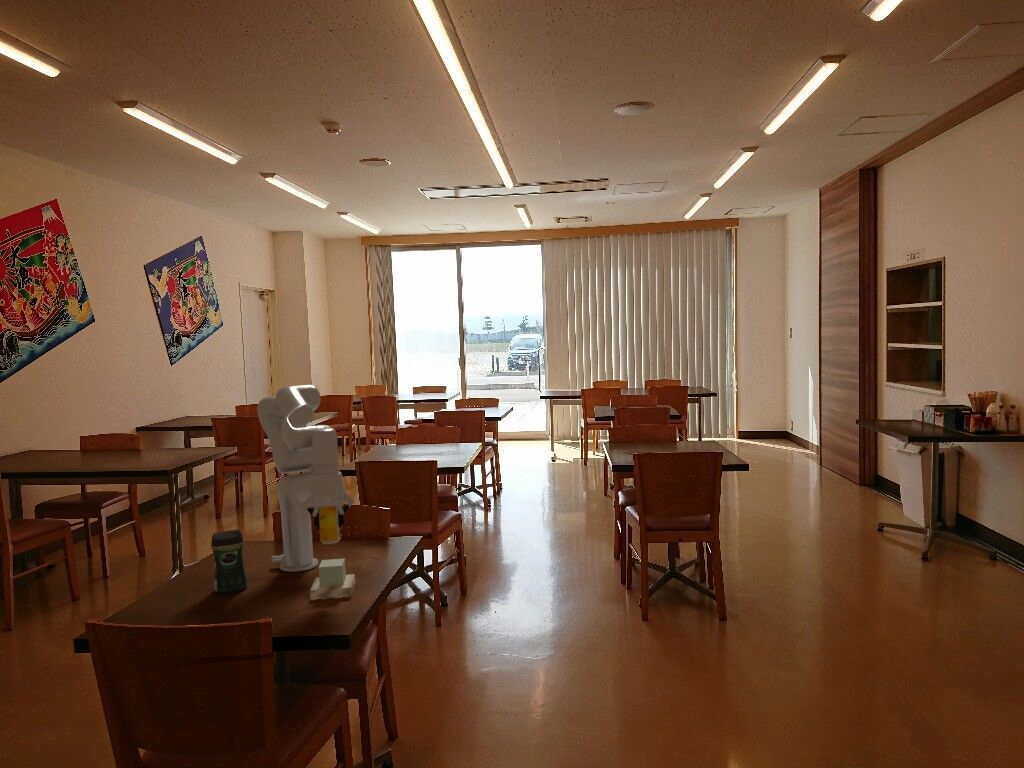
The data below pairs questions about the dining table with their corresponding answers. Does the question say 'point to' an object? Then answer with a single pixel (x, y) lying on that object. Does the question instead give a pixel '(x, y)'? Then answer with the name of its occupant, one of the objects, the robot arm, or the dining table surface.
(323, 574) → the cube
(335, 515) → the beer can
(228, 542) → the coffee jar
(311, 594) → the slab
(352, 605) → the dining table surface
